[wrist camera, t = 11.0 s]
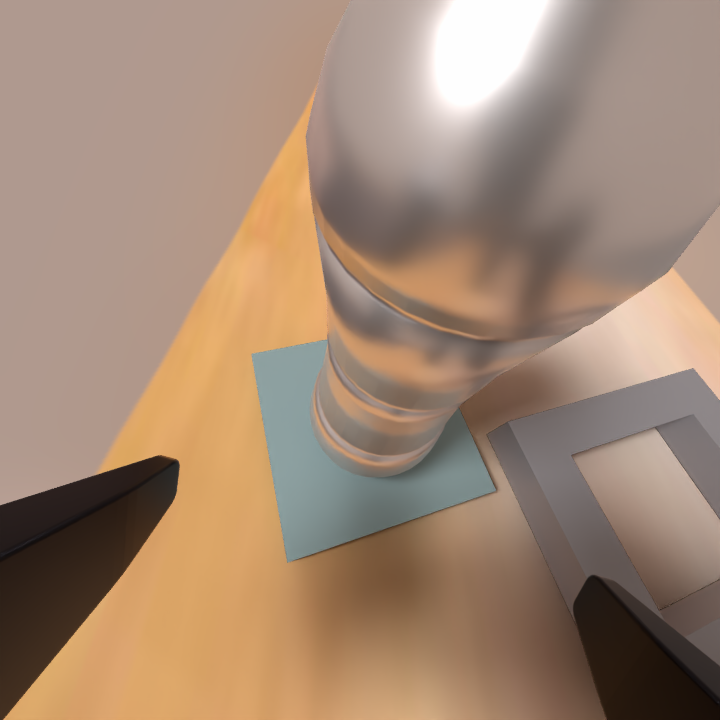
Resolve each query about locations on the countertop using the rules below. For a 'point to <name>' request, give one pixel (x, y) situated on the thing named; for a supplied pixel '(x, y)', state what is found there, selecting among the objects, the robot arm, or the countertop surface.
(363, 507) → the coaster
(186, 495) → the countertop surface
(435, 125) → the plastic bottle
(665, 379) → the pocket holder
